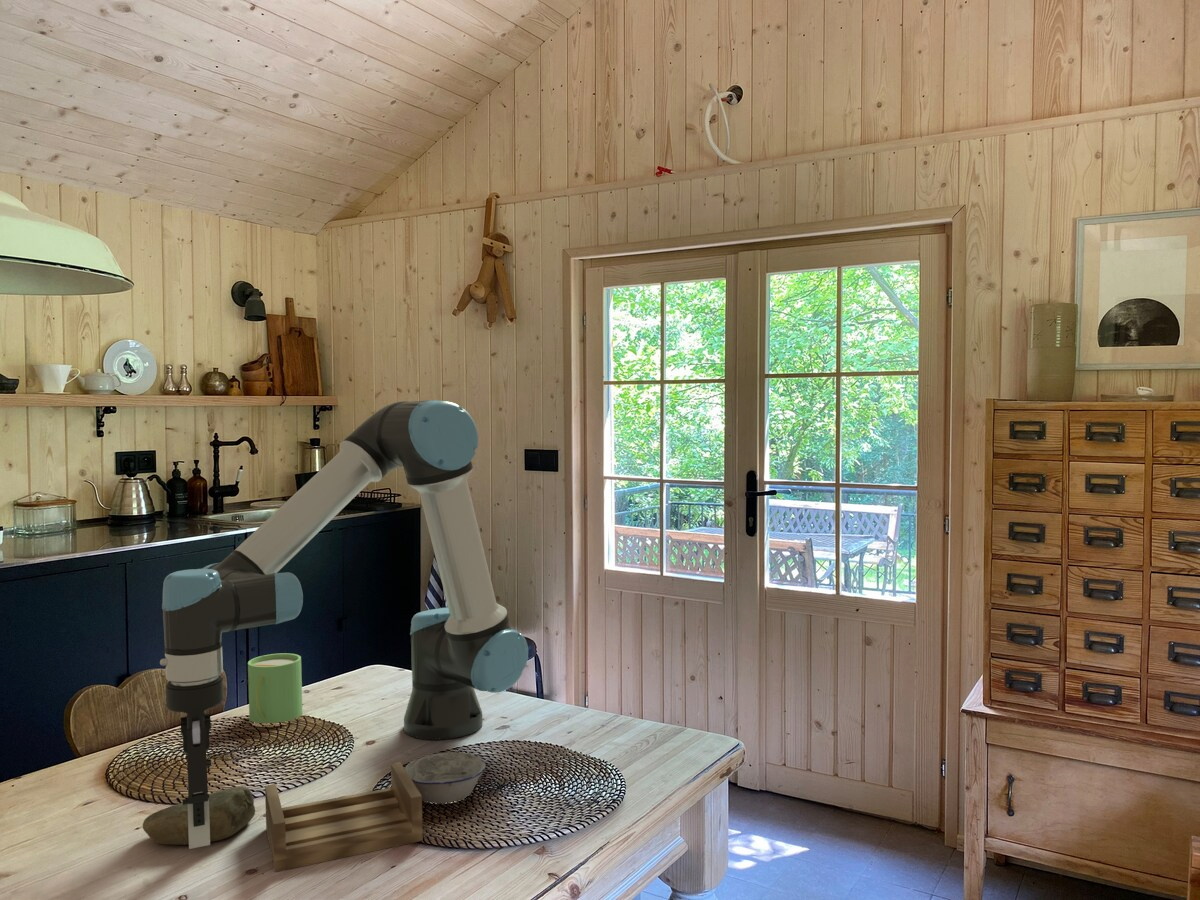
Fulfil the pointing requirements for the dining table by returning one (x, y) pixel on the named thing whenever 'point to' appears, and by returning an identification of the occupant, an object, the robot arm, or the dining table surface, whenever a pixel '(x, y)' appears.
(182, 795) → the dining table surface
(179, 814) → the stone
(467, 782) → the bowl
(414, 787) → the rack
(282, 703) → the mug
